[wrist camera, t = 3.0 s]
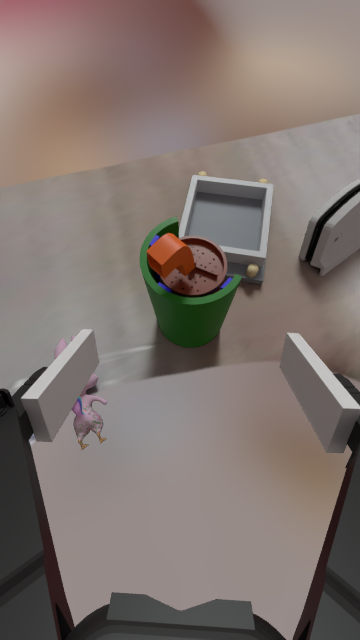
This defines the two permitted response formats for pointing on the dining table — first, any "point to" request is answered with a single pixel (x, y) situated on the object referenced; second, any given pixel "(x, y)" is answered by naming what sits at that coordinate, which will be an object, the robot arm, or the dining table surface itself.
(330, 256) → the grey arched block
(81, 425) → the rabbit figure
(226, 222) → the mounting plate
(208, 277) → the motor
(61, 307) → the dining table surface
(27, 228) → the dining table surface
